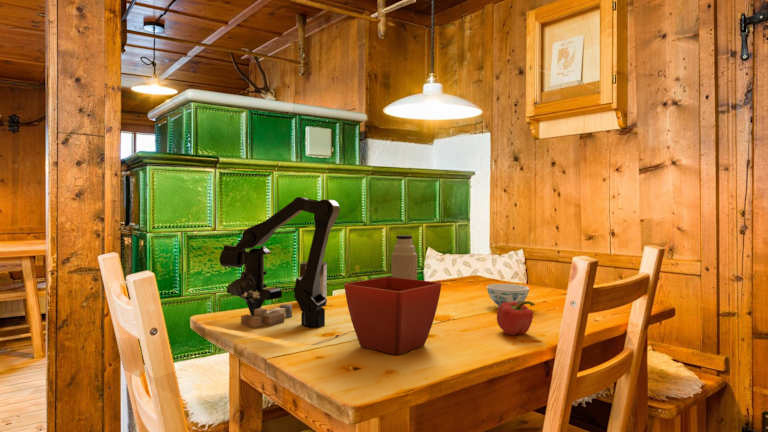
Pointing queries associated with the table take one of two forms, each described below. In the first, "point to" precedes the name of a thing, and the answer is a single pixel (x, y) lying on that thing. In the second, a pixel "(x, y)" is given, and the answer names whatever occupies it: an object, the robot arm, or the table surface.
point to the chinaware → (507, 293)
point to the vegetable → (514, 317)
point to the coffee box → (322, 276)
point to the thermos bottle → (404, 258)
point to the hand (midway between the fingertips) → (253, 318)
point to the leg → (282, 309)
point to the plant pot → (392, 312)
